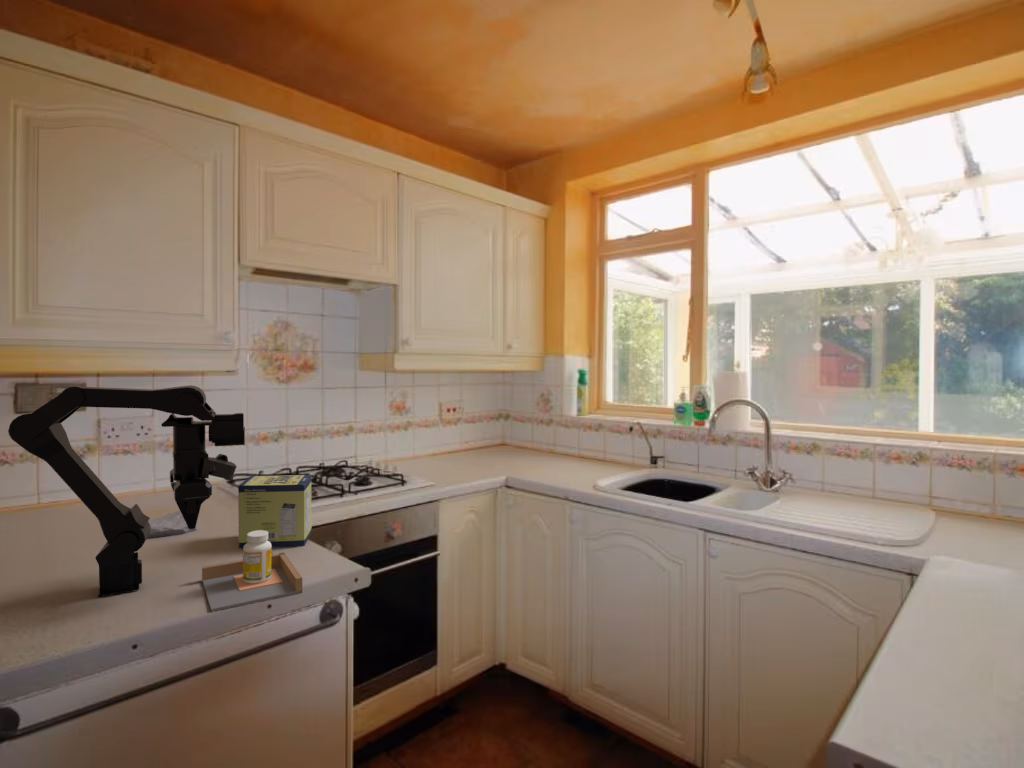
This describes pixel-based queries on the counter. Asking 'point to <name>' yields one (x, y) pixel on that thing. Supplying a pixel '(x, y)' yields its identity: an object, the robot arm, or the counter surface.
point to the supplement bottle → (257, 557)
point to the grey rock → (168, 525)
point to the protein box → (276, 509)
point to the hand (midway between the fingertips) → (190, 522)
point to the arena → (232, 591)
